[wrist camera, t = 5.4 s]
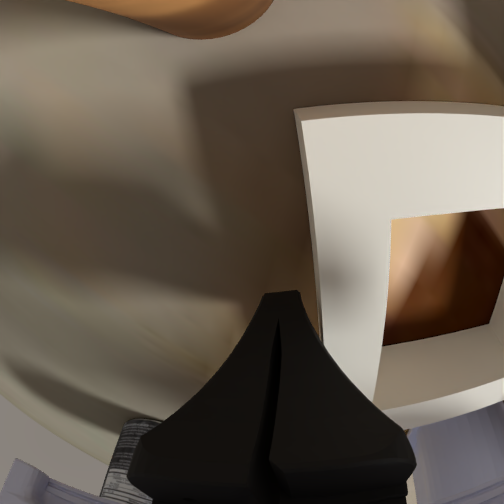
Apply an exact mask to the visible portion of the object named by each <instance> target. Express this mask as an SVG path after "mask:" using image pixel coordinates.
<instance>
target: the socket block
mask: <svg viewBox="0 0 504 504" xmlns="http://www.w3.org/2000/svg"><path fill="white" fill-rule="evenodd" d="M294 115H295V121H296V127H297V134H298V140H299V147H300V154H301V161H302V168H303V175H304V183H305V190H306V198H307V206H308V215H309V224H310V233H311V242H312V252H313V262H314V272H315V284H316V296H317V309H318V322H319V338H320V340H321V341H322V343H323V345H324V346H325V348H326V349H327V351H328V352H329V354H330V355H331V357H332V358H333V359H334V361H335V362H336V363H337V365H338V366H339V367H340V369H341V370H342V371H343V372H344V373H345V375H346V376H347V377H348V378H349V379H350V380H351V382H352V383H353V384H354V385H355V386H356V387H357V388H358V389H359V390H360V391H361V392H362V393H363V394H364V395H365V396H366V397H367V398H368V399H369V400H370V401H371V402H372V403H373V404H374V405H375V406H376V407H377V408H379V409H380V410H381V411H382V412H383V413H384V414H385V415H387V416H388V417H389V418H390V419H392V420H393V421H394V422H395V423H397V424H398V425H399V426H401V427H402V429H403V430H406V429H411V428H415V427H419V426H424V425H428V424H431V423H435V422H439V421H443V420H446V419H450V418H453V417H456V416H460V415H463V414H466V413H469V412H472V411H475V410H478V409H481V408H484V407H486V406H489V405H492V404H495V403H497V402H500V401H502V400H504V278H503V282H502V285H501V289H500V292H499V295H498V298H497V302H496V305H495V308H494V311H493V314H492V317H491V320H490V322H489V324H486V325H482V326H479V327H475V328H471V329H467V330H462V331H458V332H454V333H450V334H445V335H441V336H436V337H431V338H426V339H421V340H416V341H411V342H405V343H400V344H394V345H388V346H382V341H383V333H384V325H385V316H386V306H387V295H388V283H389V267H390V246H391V219H400V218H409V217H418V216H428V215H437V214H447V213H457V212H467V211H477V210H488V209H498V208H504V106H499V105H489V104H477V103H463V102H441V101H385V102H363V103H347V104H334V105H323V106H313V107H304V108H296V109H294Z"/></svg>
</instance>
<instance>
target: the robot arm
mask: <svg viewBox="0 0 504 504" xmlns="http://www.w3.org/2000/svg"><path fill="white" fill-rule="evenodd" d="M412 473H413V479H414V485H415V492H416V498H417V504H504V403H503V401H500V402H497V403H495V404H492V405H489V406H486V407H484V408H481V409H478V410H475V411H472V412H469V413H466V414H463V415H460V416H456V417H453V418H450V419H446V420H443V421H439V422H435V423H431V424H428V425H424V426H419V427H415V428H411V429H409V432H408V434H407V436H406V434H405V432H404V430H403V429H402V427H401V426H399V425H398V424H397V423H395V422H394V421H393V420H392V419H390V418H389V417H388V416H387V415H385V414H384V413H383V412H382V411H381V410H380V409H379V408H377V407H376V406H375V405H374V404H373V403H372V402H371V401H370V400H369V399H368V398H367V397H366V396H365V395H364V394H363V393H362V392H361V391H360V390H359V389H358V388H357V387H356V386H355V385H354V384H353V383H352V382H351V380H350V379H349V378H348V377H347V376H346V375H345V373H344V372H343V371H342V370H341V369H340V367H339V366H338V365H337V363H336V362H335V361H334V359H333V358H332V357H331V355H330V354H329V352H328V351H327V349H326V348H325V346H324V345H323V343H322V341H321V340H320V338H319V336H318V335H317V333H316V331H315V329H314V327H313V326H312V324H311V322H310V320H309V318H308V316H307V313H306V311H305V308H304V306H303V303H302V300H301V294H300V292H299V291H297V290H293V291H284V292H274V293H265V294H264V295H263V297H262V299H261V302H260V304H259V306H258V308H257V310H256V312H255V314H254V316H253V318H252V320H251V322H250V324H249V326H248V327H247V329H246V331H245V333H244V334H243V336H242V338H241V339H240V341H239V342H238V344H237V345H236V347H235V348H234V350H233V351H232V353H231V354H230V356H229V357H228V358H227V360H226V361H225V362H224V364H223V365H222V366H221V367H220V369H219V370H218V371H217V372H216V373H215V375H214V376H213V377H212V378H211V379H210V380H209V381H208V382H207V383H206V384H205V385H204V386H203V388H202V389H201V390H200V391H199V392H198V393H197V394H196V395H194V396H193V397H192V398H191V399H190V400H189V401H188V402H187V403H185V404H184V405H183V406H182V407H181V408H180V409H178V410H177V411H176V412H175V413H174V414H172V415H171V416H170V417H169V418H167V419H166V420H164V421H163V422H162V423H160V424H159V425H157V426H156V427H154V428H153V429H151V430H150V431H148V432H147V433H145V434H144V435H142V436H140V439H139V441H138V443H137V445H136V448H135V450H134V453H133V456H132V459H131V462H130V466H129V469H128V472H127V475H126V477H127V479H128V481H129V482H130V483H131V484H132V485H133V486H134V487H136V488H137V489H138V490H140V491H141V492H143V493H144V494H146V495H147V496H149V497H150V498H152V499H153V500H152V504H407V503H406V496H407V495H408V489H407V483H406V481H407V479H408V478H409V477H410V475H411V474H412ZM0 504H122V503H118V502H115V501H112V500H108V499H105V498H102V497H99V496H96V495H93V494H90V493H87V492H84V491H81V490H79V489H76V488H73V487H71V486H68V485H66V484H63V483H61V482H58V481H56V480H54V479H51V478H49V476H47V475H46V474H45V473H44V472H42V471H41V470H39V469H37V468H36V467H34V466H32V465H30V464H28V463H26V462H24V461H22V460H20V459H18V458H16V459H15V461H14V463H13V465H12V467H11V469H10V471H9V474H8V476H7V479H6V481H5V483H4V486H3V488H2V491H1V493H0Z"/></svg>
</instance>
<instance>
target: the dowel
mask: <svg viewBox="0 0 504 504" xmlns="http://www.w3.org/2000/svg"><path fill="white" fill-rule="evenodd" d="M66 1H71V2H75V3H79V4H83V5H87V6H91V7H94V8H98V9H101V10H105V11H108V12H111V13H115V14H118V15H121V16H124V17H127V18H130V19H133V20H136V21H139V22H142V23H145V24H147V25H150V26H153V27H155V28H158V29H161V30H163V31H166V32H168V33H171V34H173V35H176V36H179V37H183V38H188V39H201V40H202V39H213V38H219V37H223V36H227V35H230V34H232V33H235V32H238V31H240V30H242V29H244V28H246V27H247V26H249V25H250V24H252V23H253V22H255V21H256V20H257V19H258V18H259V17H261V16H262V15H263V14H264V13H265V11H266V10H267V9H268V8H269V6H270V5H271V4H272V2H273V0H66Z"/></svg>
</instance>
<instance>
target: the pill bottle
mask: <svg viewBox="0 0 504 504" xmlns="http://www.w3.org/2000/svg"><path fill="white" fill-rule="evenodd" d="M160 423H162V422H159V421H155V420H149V419H133V420H129V421H128V422H126V423H125V424H124V426H123V428H122V431H121V434H120V437H119V439H118V442H117V445H116V447H115V450H114V453H113V456H112V459H111V462H110V465H109V468H108V471H107V474H106V477H105V480H104V483H103V487H102V490H101V493H100V496H99V497H102V498H105V499H108V500H112V501H115V502H118V503H122V504H152V500H153V499H152V498H150V497H149V496H147V495H146V494H144V493H143V492H141V491H140V490H138V489H137V488H136V487H134V486H133V485H132V484H131V483H130V482H129V481H128V479H127V477H126V475H127V472H128V469H129V466H130V462H131V459H132V456H133V453H134V450H135V448H136V445H137V443H138V441H139V439H140V436H142V435H144V434H145V433H147V432H148V431H150V430H151V429H153V428H154V427H156V426H157V425H159V424H160Z"/></svg>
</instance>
